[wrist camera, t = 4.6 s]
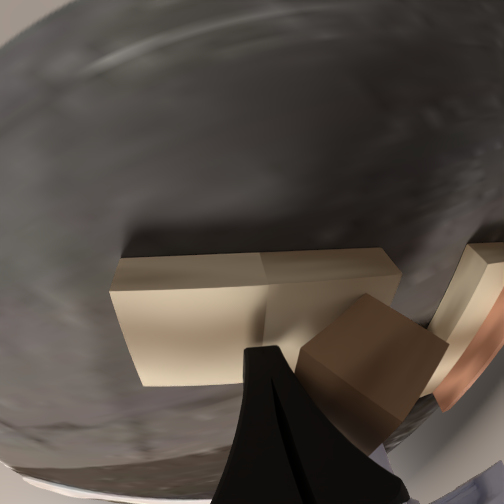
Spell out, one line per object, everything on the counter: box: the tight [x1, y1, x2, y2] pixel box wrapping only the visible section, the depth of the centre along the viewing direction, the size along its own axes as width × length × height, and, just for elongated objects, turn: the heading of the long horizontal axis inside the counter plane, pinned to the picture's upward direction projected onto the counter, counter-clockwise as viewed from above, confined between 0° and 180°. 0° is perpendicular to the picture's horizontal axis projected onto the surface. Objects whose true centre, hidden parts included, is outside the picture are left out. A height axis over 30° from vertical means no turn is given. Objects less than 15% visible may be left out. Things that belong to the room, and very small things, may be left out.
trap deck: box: [109, 242, 504, 412], centre depth 15 cm, size 13×21×4 cm, turn 87°
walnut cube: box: [294, 293, 450, 456], centre depth 10 cm, size 4×4×4 cm
